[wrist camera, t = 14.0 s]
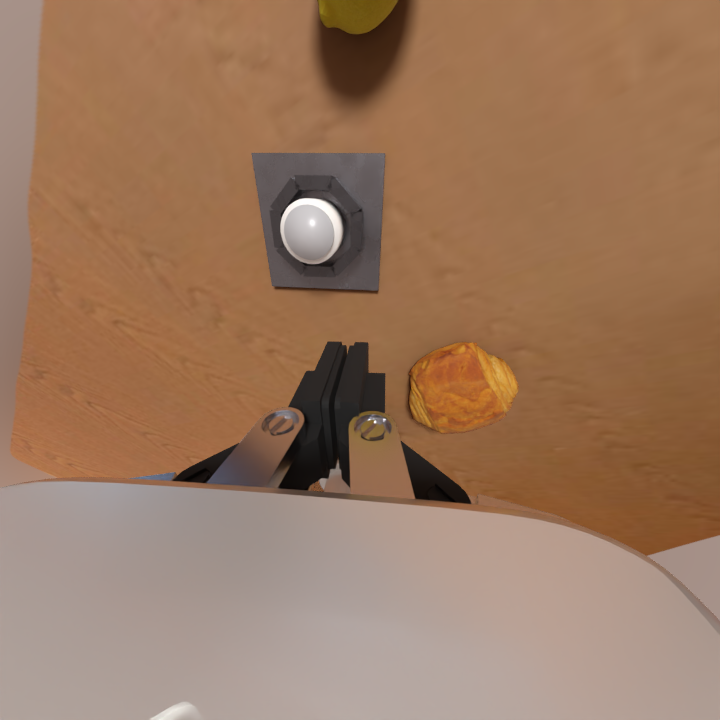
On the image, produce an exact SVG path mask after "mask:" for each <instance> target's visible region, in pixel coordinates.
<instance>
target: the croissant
mask: <svg viewBox="0 0 720 720" xmlns="http://www.w3.org/2000/svg"><path fill="white" fill-rule="evenodd" d="M409 374H410V375H411V377H410V382H411V391H410V396H409V404H410V409H411V412H412V415H413V418H414V419H415V420H416V421H418V422H420V423H422V424H423V425H425V426H427V427H430V428H432V429H433V430H436V431H438V432H439V433H441V434H449V433H465V432H469V431H473V430H476V429H480V428H482V427H485V426H488V425H492V424H494V423H496V422H498V421H500V420H501V419H503V418H504V417H505V416H506V412H507V411H508V410H509V409H510V408H511V406H512V402H513V398H515V397H516V393H517V392H518V387H519V386H518V383H517V381H516V378H515V375H514V373H513V372H512V371H511V369H510V367H509V366H508V365H507V364H506V363H505V362H504V361H503V359H501V358H496V357H495V356H493V355H487V353H486V352H485V351H484V350H482V349H481V348H479V347H478V346H477V343H466V342H461V343H455V344H451V345H448V346H445V347H442V348H440V349H437V350H435V351H433V352H431V353H429V354H427V355H426V356H425V357H422V358H421V359H420V360H419V361H418V362H417V363H416V364H415V365H414V366H413V368H412V369H411V371H410V373H409Z"/></svg>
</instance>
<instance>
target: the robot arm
mask: <svg viewBox="0 0 720 720" xmlns="http://www.w3.org/2000/svg"><path fill="white" fill-rule="evenodd" d="M338 458H339V460H338ZM318 480H319V483H320V485H321V487H322V488H323V490H324V492H319V491H314V488H315V484H314V483H315V482H317V481H318ZM0 720H720V620H719V619H718V618H717V617H716V616H715V615H714V614H713V613H712V612H711V611H710V610H709V609H708V608H707V607H706V606H705V605H704V604H703V603H702V602H701V601H700V599H698V597H696V596H695V595H694V594H693V593H692V592H691V591H690V590H689V589H688V588H687V587H686V586H685V585H684V584H683V583H682V582H681V581H679V580H678V579H677V578H676V577H674V576H673V575H672V574H671V573H670V572H668V571H667V570H666V569H665V568H663V567H662V566H660V565H659V564H657V563H656V562H655V561H653V560H652V559H650V558H649V557H647V556H645V555H644V554H642V553H640V552H638V551H636V550H635V549H633V548H631V547H629V546H627V545H625V544H623V543H621V542H619V541H617V540H615V539H613V538H611V537H608V536H606V535H603V534H601V533H598V532H596V531H593V530H591V529H588V528H586V527H583V526H581V525H578V524H575V523H571V522H569V521H568V520H567V519H564V518H562V517H559V516H557V515H554V514H551V513H547V512H543V511H540V510H536V509H532V508H529V507H525V506H521V505H518V504H514V503H510V502H507V501H503V500H499V499H496V498H492V497H489V496H485V495H481V494H478V495H477V497H473V496H469V495H467V494H466V492H465V491H464V490H463V489H462V488H461V487H460V486H459V485H458V484H456V483H455V482H454V481H452V480H451V479H450V478H448V477H447V476H446V475H445V474H443V473H442V472H441V471H439V470H438V469H437V468H436V467H434V466H433V465H432V464H430V463H429V462H428V461H426V460H425V459H424V458H423V457H421V456H420V455H419V454H417V453H416V452H415V451H413V450H412V449H411V448H410V447H408V446H407V445H406V444H404V443H403V442H402V441H400V437H399V433H398V429H397V425H396V423H395V421H394V420H393V419H392V418H391V417H390V416H389V415H387V414H385V373H368V343H366V342H355V344H354V346H349V350H348V354H347V347H346V345H342V343H341V342H327V344H326V347H325V349H324V351H323V353H322V356H321V358H320V360H319V362H318V364H317V367H316V369H315V371H306V373H305V375H304V377H303V379H302V381H301V383H300V385H299V387H298V389H297V391H296V393H295V395H294V397H293V399H292V401H291V403H290V405H289V406H288V407H282V408H277V409H274V410H271V411H269V412H267V413H266V414H264V415H263V416H262V417H261V418H260V419H259V420H258V421H257V423H256V424H255V425H254V426H253V427H252V429H251V430H250V431H249V432H248V433H247V435H246V436H245V437H244V438H243V439H242V441H241V442H240V443H238V444H236V445H234V446H232V447H230V448H228V449H226V450H224V451H222V452H220V453H218V454H216V455H214V456H211V457H209V458H207V459H205V460H203V461H201V462H199V463H197V464H195V465H193V466H191V467H189V468H188V469H186V470H184V471H183V472H181V473H180V474H179V475H178V476H177V474H176V473H175V472H173V473H166V474H158V475H151V476H143V477H136V478H128V479H127V478H104V477H72V478H55V479H45V480H38V481H31V482H24V483H19V484H15V485H10V486H6V487H2V488H0Z"/></svg>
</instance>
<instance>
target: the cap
mask: <svg viewBox="0 0 720 720" xmlns="http://www.w3.org/2000/svg"><path fill="white" fill-rule="evenodd" d="M280 230H281V237H282V240H283V243H284V245H285V247H286V248H287V250H288V251H289V253H290V254H291V255H292V256H293V257H295V258H296V259H297V260H299V261H301V262H304V263H307V264H319V263H322V262H324V261H326V260H328V259H329V258H330V257H331V256H332V255H333V254H334V253H335V252H336V251H337V250H338V249H339V248H340V247H341V245H342V244H343V242H344V239H345V235H346V225H345V220H344V217H343V215H342V213H341V212H340V210H339V209H338V208H337V207H336V206H335V205H334V204H333V203H331V202H329V201H327V200H324V199H312V198H304V199H299V200H297V201H295V202H293V203H292V204H290V205H289V206H288V207H287V209H286V210H285V212H284V214H283V216H282V219H281V226H280Z"/></svg>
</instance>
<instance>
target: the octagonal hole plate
mask: <svg viewBox="0 0 720 720" xmlns="http://www.w3.org/2000/svg"><path fill="white" fill-rule="evenodd" d="M252 159H253V166H254V172H255V178H256V185H257V191H258V198H259V204H260V211H261V217H262V224H263V230H264V236H265V243H266V249H267V256H268V262H269V269H270V275H271V282H272V286H279V287H304V288H328V289H353V290H378V288H379V268H380V248H381V228H382V208H383V188H384V168H385V153H252ZM304 198H312V199H324V200H327V201H329V202H331V203H333V204H334V205H335V206H336V207H337V208H338V209H339V210H340V212H341V213H342V215H343V217H344V220H345V225H346V235H345V239H344V242H343V244H342V245H341V247H340V248H339V249H338V250H337V251H336V252H335V253H334V254H333V255H332V256H331V257H330V258H329V259H328V260H326V261H324V262H322V263H319V264H307V263H304V262H301V261H299V260H297V259H296V258H295V257H293V256H292V255H291V254H290V253H289V251H288V250H287V248H286V247H285V245H284V243H283V240H282V237H281V230H280V226H281V219H282V216H283V214H284V212H285V210H286V209H287V207H288V206H289V205H290V204H292V203H293V202H295V201H297V200H299V199H304Z"/></svg>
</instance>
